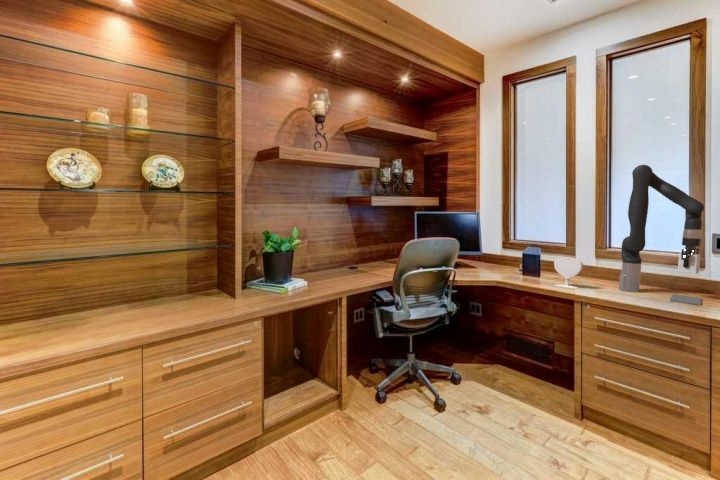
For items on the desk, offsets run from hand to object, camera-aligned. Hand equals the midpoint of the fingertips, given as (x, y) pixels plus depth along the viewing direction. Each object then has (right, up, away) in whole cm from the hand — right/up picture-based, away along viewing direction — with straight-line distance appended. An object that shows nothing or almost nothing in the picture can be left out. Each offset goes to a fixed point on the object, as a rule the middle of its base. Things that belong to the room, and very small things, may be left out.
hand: (688, 266), depth 200 cm
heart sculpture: (-53, -15, +27) cm, 61 cm away
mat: (-6, -18, -5) cm, 20 cm away
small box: (0, -3, 0) cm, 3 cm away
